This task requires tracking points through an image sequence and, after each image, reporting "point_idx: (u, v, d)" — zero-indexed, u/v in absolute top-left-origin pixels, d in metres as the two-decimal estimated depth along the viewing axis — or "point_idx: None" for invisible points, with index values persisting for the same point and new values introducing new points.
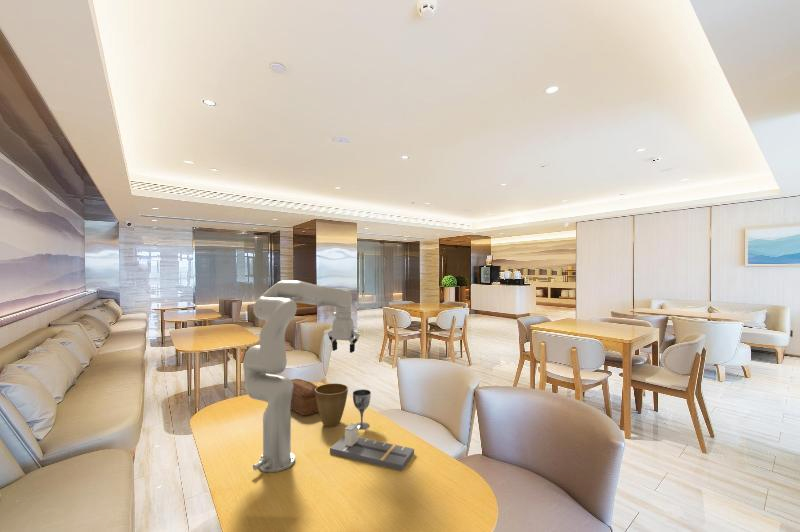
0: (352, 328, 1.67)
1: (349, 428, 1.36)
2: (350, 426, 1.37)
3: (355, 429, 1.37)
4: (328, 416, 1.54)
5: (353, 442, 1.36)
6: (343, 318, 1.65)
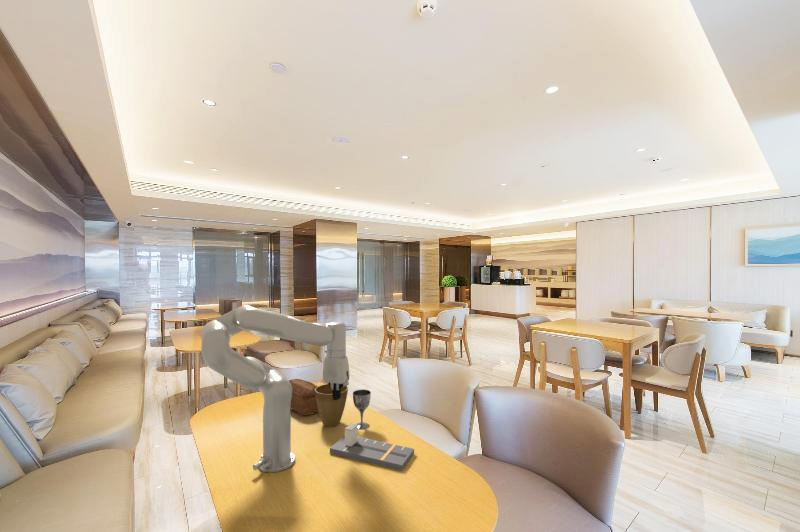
0: (347, 369, 1.38)
1: (349, 428, 1.36)
2: (350, 426, 1.37)
3: (355, 429, 1.37)
4: (328, 416, 1.54)
5: (353, 442, 1.36)
6: (336, 357, 1.36)
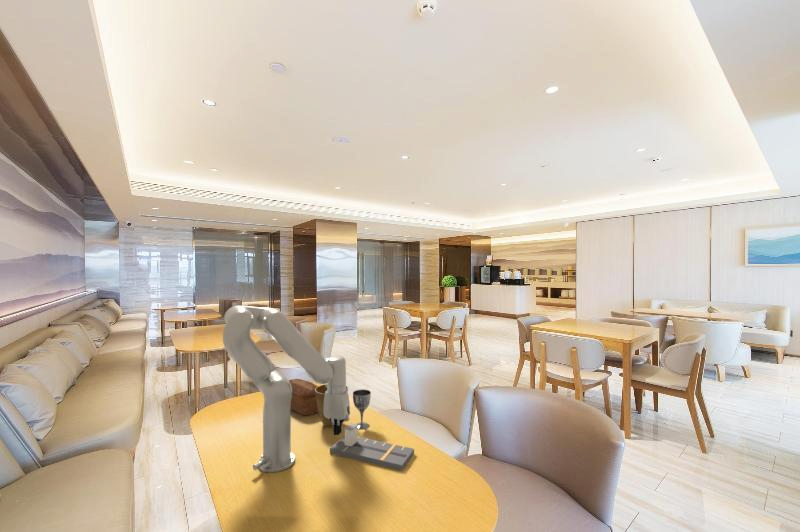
0: (347, 404, 1.38)
1: (349, 428, 1.36)
2: (350, 426, 1.37)
3: (355, 429, 1.37)
4: None
5: (353, 442, 1.36)
6: (336, 393, 1.36)
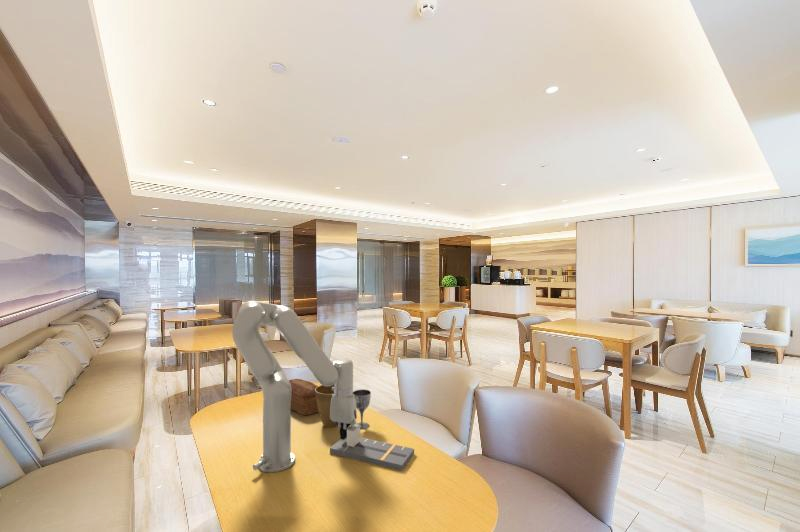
0: (354, 408, 1.37)
1: (351, 428, 1.35)
2: (352, 426, 1.37)
3: (357, 430, 1.37)
4: (328, 416, 1.54)
5: (355, 442, 1.35)
6: (343, 397, 1.35)
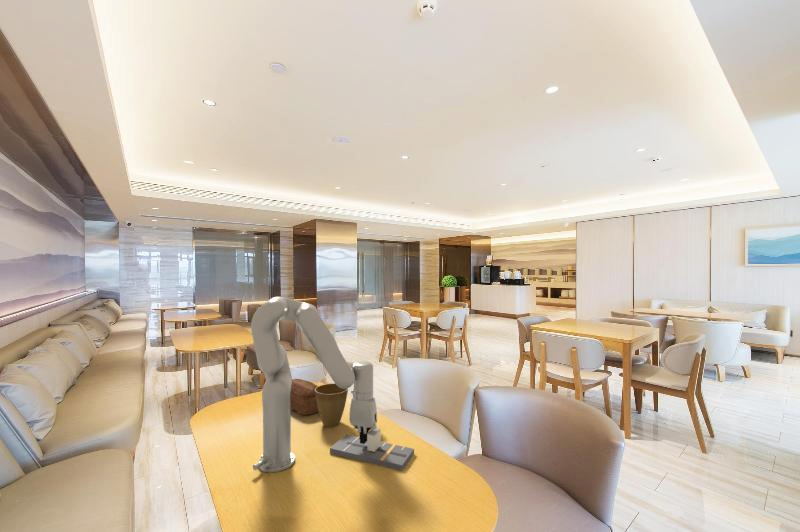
0: (375, 411, 1.34)
1: (372, 433, 1.32)
2: (372, 431, 1.33)
3: (377, 434, 1.33)
4: (328, 416, 1.54)
5: (376, 447, 1.32)
6: (364, 400, 1.32)
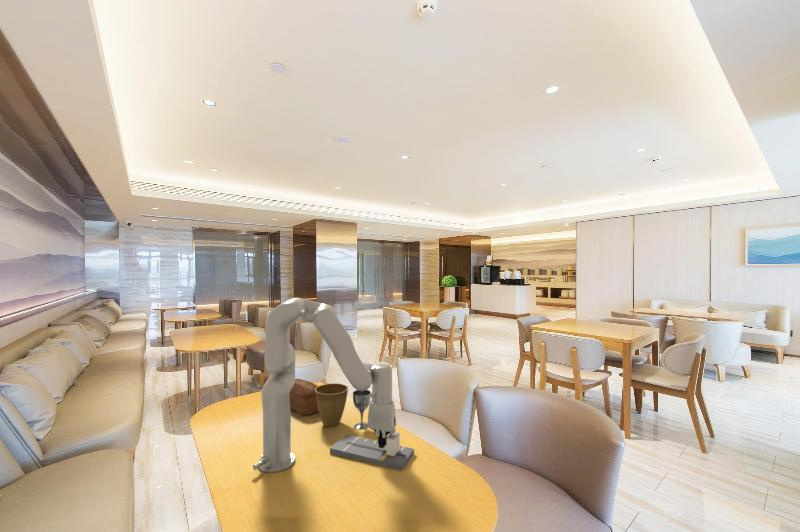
0: (394, 415, 1.30)
1: (391, 437, 1.29)
2: (392, 435, 1.30)
3: (397, 438, 1.30)
4: (328, 416, 1.54)
5: (395, 451, 1.29)
6: (383, 403, 1.28)
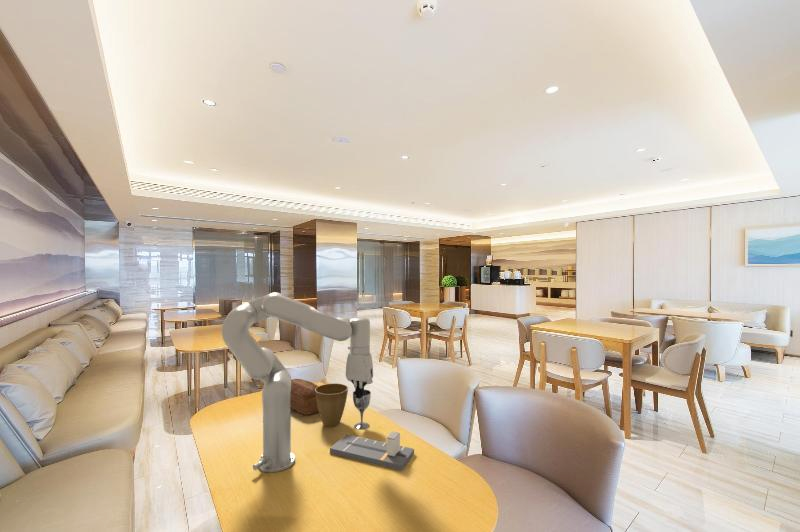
0: (371, 366, 1.34)
1: (391, 437, 1.29)
2: (392, 435, 1.30)
3: (397, 438, 1.30)
4: (328, 416, 1.54)
5: (396, 451, 1.29)
6: (360, 354, 1.32)
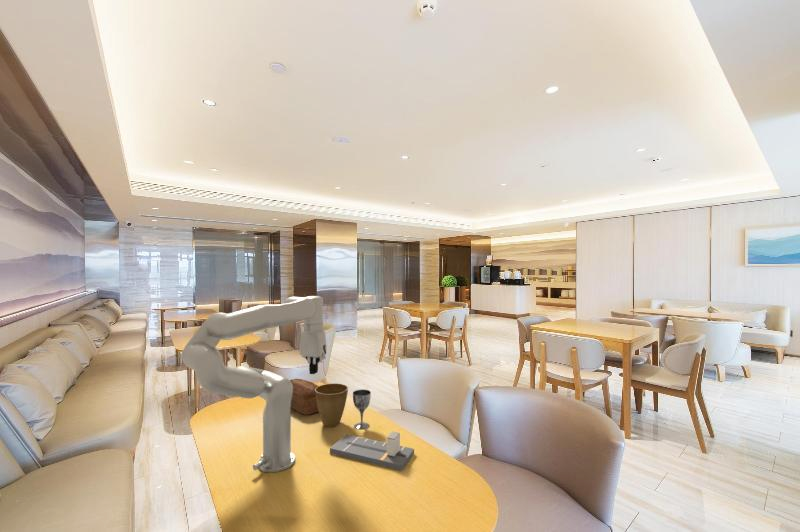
0: (324, 342, 1.38)
1: (391, 437, 1.29)
2: (392, 435, 1.30)
3: (397, 438, 1.30)
4: (328, 416, 1.54)
5: (396, 451, 1.29)
6: (312, 331, 1.36)
